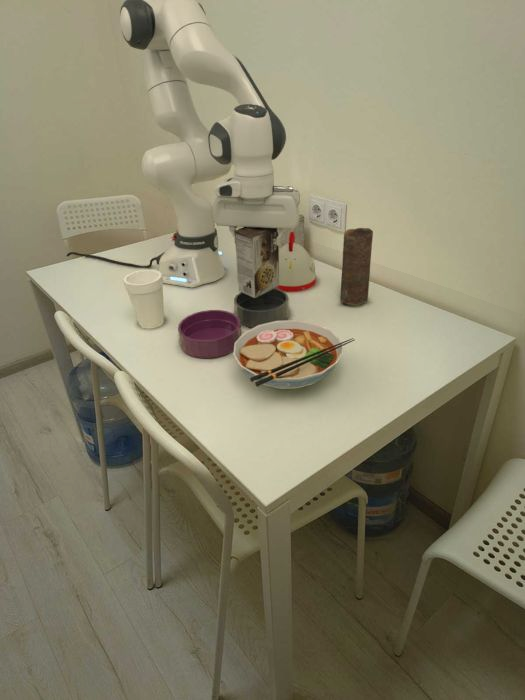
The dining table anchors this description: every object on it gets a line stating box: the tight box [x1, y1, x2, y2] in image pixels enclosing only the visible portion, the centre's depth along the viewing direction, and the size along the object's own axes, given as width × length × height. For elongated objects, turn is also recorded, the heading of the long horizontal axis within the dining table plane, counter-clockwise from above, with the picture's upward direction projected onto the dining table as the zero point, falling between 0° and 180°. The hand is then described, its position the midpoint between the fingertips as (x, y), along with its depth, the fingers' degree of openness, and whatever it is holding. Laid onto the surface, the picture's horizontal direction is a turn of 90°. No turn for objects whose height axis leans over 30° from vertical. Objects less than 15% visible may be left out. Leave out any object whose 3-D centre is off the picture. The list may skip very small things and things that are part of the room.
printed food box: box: [234, 227, 280, 298], centre depth 118 cm, size 9×6×16 cm
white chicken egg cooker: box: [276, 231, 317, 293], centre depth 139 cm, size 14×14×15 cm
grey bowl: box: [233, 288, 290, 329], centre depth 125 cm, size 14×14×5 cm
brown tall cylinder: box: [339, 227, 374, 306], centre depth 125 cm, size 8×7×20 cm
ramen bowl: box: [232, 319, 356, 390], centre depth 101 cm, size 25×23×8 cm
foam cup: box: [122, 269, 165, 330], centre depth 123 cm, size 10×9×13 cm
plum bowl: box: [177, 309, 243, 359], centre depth 115 cm, size 15×15×5 cm
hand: (257, 244), depth 116 cm, fingers closed on printed food box, 8 cm apart
